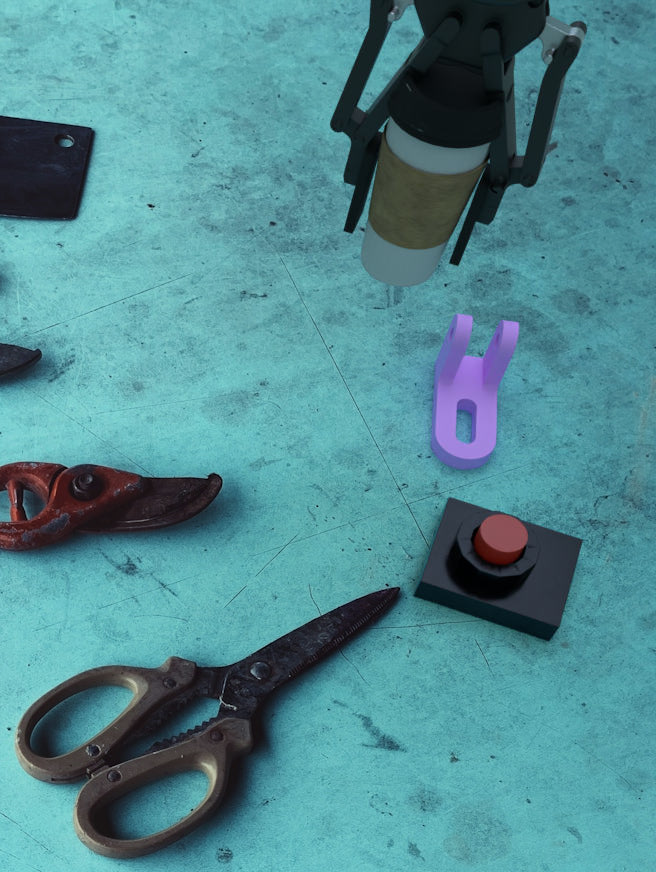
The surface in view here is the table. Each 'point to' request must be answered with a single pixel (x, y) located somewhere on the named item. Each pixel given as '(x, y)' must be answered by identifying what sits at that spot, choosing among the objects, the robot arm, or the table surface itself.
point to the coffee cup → (426, 171)
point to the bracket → (469, 392)
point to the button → (500, 539)
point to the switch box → (499, 573)
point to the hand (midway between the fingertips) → (405, 237)
